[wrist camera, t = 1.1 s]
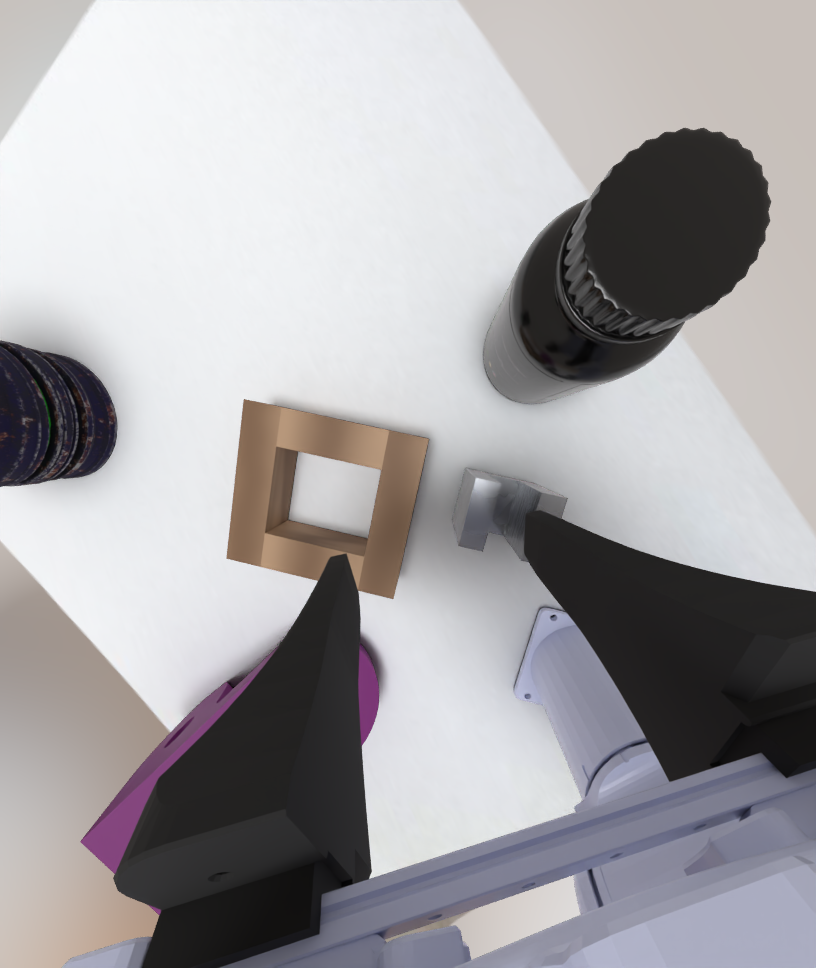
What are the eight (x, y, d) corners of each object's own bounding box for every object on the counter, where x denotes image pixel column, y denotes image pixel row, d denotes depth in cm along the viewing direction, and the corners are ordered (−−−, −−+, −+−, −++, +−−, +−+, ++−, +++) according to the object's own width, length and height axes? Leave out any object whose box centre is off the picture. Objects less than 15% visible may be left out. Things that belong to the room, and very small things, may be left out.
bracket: (533, 482, 21) (567, 498, 16) (517, 534, 22) (546, 566, 16) (464, 467, 21) (475, 477, 16) (452, 519, 22) (458, 546, 17)
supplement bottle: (568, 280, 19) (797, 16, 7) (597, 382, 20) (846, 301, 8) (466, 323, 20) (516, 155, 8) (498, 420, 21) (587, 397, 9)
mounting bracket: (325, 587, 30) (159, 739, 25) (323, 610, 22) (79, 841, 17) (384, 652, 31) (234, 814, 26) (403, 698, 23) (191, 945, 18)
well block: (429, 438, 21) (428, 438, 18) (398, 576, 23) (393, 598, 20) (271, 404, 22) (243, 399, 19) (253, 542, 24) (226, 558, 20)
